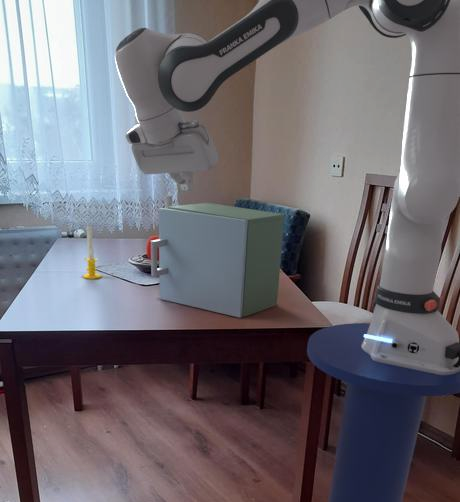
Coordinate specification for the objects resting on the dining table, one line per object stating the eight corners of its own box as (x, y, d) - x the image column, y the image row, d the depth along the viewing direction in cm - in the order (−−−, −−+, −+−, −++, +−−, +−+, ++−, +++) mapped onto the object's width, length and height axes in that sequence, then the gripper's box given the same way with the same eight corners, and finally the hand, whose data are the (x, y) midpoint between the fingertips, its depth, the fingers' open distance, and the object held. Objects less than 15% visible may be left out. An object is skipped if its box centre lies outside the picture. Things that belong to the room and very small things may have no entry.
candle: (103, 275, 173) (100, 223, 166) (97, 279, 168) (94, 226, 161) (86, 274, 173) (83, 222, 166) (81, 278, 169) (77, 225, 162)
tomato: (182, 269, 186) (182, 236, 181) (151, 270, 182) (150, 236, 177) (172, 262, 194) (172, 230, 189) (143, 263, 190) (142, 231, 186)
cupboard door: (228, 322, 136) (234, 222, 126) (147, 302, 148) (145, 209, 138) (242, 316, 141) (247, 220, 131) (161, 298, 153) (161, 207, 142)
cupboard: (242, 317, 142) (248, 219, 131) (168, 296, 155) (168, 206, 144) (276, 305, 153) (284, 214, 142) (204, 286, 167) (207, 202, 156)
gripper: (211, 112, 107) (233, 180, 116) (137, 123, 119) (163, 183, 128) (193, 127, 104) (217, 196, 113) (119, 137, 116) (147, 198, 125)
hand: (188, 189), depth 121 cm, fingers closed
